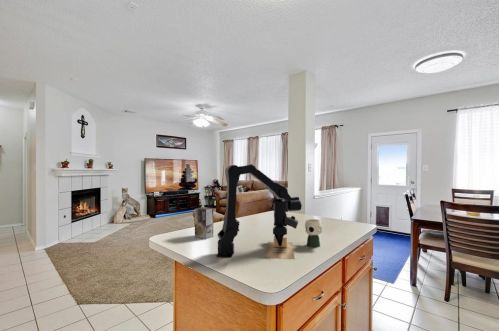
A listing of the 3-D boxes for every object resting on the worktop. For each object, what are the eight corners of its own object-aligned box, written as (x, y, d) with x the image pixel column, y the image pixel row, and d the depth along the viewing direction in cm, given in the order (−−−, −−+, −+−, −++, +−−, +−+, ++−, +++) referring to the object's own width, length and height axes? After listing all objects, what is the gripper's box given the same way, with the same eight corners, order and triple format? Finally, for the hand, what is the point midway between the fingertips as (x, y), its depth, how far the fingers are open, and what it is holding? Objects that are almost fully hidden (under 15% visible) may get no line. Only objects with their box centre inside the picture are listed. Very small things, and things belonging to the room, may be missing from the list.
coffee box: (213, 236, 129) (213, 208, 129) (206, 239, 123) (206, 209, 124) (202, 234, 133) (202, 206, 134) (194, 236, 128) (194, 208, 129)
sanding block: (273, 246, 106) (273, 238, 106) (274, 244, 110) (274, 235, 110) (286, 247, 106) (286, 238, 106) (286, 244, 109) (286, 236, 110)
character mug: (300, 245, 112) (299, 219, 113) (310, 243, 116) (310, 217, 116) (316, 252, 103) (316, 223, 103) (327, 249, 106) (327, 221, 107)
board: (265, 260, 94) (265, 257, 94) (268, 243, 115) (268, 241, 115) (294, 261, 92) (294, 259, 92) (292, 244, 114) (292, 242, 114)
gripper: (298, 216, 98) (298, 252, 98) (295, 209, 117) (296, 239, 116) (272, 215, 100) (273, 251, 99) (274, 208, 118) (274, 238, 118)
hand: (280, 244), depth 108 cm, fingers closed on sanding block, 4 cm apart
